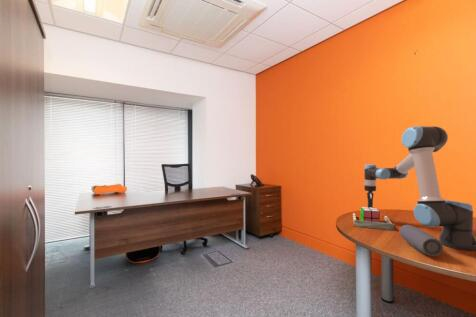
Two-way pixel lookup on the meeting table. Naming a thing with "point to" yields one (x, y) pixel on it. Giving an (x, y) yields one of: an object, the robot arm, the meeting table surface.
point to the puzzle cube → (370, 214)
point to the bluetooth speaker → (421, 240)
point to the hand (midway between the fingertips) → (370, 216)
